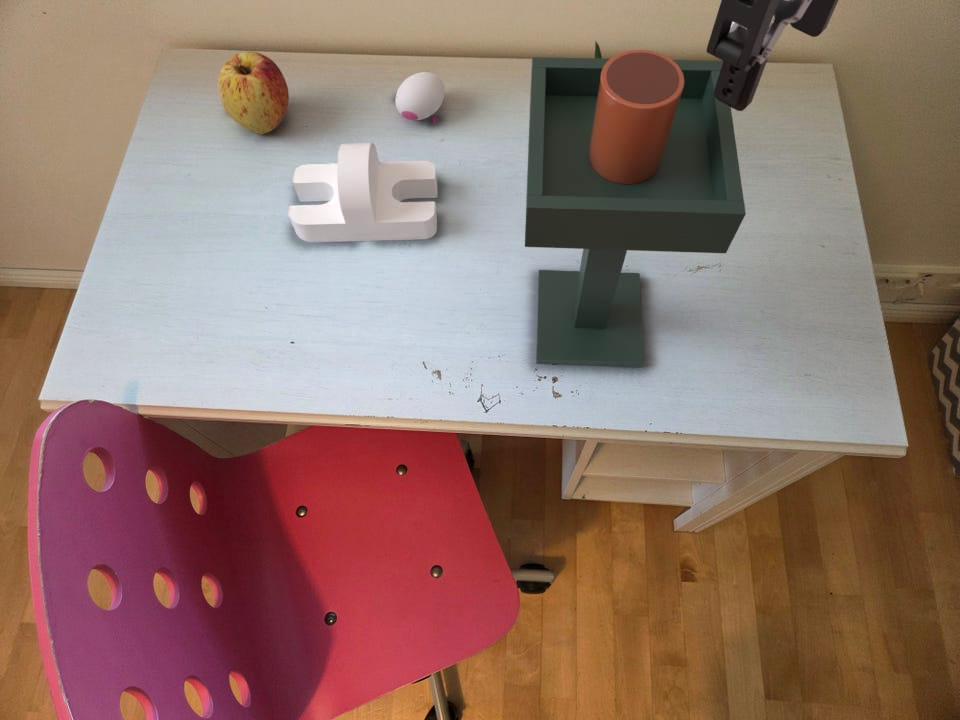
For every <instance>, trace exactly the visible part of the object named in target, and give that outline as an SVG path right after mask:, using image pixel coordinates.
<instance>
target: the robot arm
mask: <svg viewBox="0 0 960 720" xmlns="http://www.w3.org/2000/svg"><path fill="white" fill-rule="evenodd" d="M838 2H839V0H721V1H720V4H719V7H718V10H717V12H716V13H717V14H716V17H715V20H714V23H713V26H712V29H711V33H710V37H709V39H708V42H707V43H708V44H707V45H706V53H707V54H709V55H711V56H713V57H715V58H717V59H719V60H720V61H723V64H722V67H721V71H720V74H719V77H718V80H717V83H716V87H715V90H714V95H715V97H716V99H717V100H719V101H720V102H722V103H724V104H726V105H728V106H730V107H731V109H733V110H735V111H738V112H743V111H744V110H745V109H747V107H748V106H750V104H751V103H752V102H753V99H754V97H755V94H756V91H757V89H758V86H759V84H760V81H761V78H762V77H763V76H762V75H763V73H764V70H765V68H766V65H767V62H768V60H769V58H770V56H771V55H772V52H773V50H774V48H775V46H776V44H777V42H778V41H779V39H780V37H781V36H782V34H783V33H784V31H785V29H786V27H787V26H788V25H790V26H791V27H792V29H795V30H797V31H799V32H801V33H803V34H806V35H808V36H809V37H812V38H816V37H819V36H820V35H821V34H822V33H823V32H824V31H825V30H826V29H827V27H828V25H829V23H830V21H831V18H832V16H833V14H834V11H835V9H836V6H837V4H838Z"/></svg>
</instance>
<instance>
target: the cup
mask: <svg viewBox="0 0 960 720" xmlns="http://www.w3.org/2000/svg"><path fill="white" fill-rule="evenodd" d="M609 59H610V60H609V61H608V62H607V63H606V64H605V65H604V67H603V69H602V72H601V76H600V83H599V89H598V96H597V102H596V108H595V115H594V121H593V127H592V134H591V140H590V146H589V161H590V163H591V166H592V167H593V169H594V170H595V171H596V172H597V173H598V174H599V175H600V176H602V177H603V178H605V179H607V180H609V181H611V182H614V183H619V184H636V183H640V182H643V181H645V180H648V179H649V178H651V177H652V176H653V175H654V174H655V173H656V172H657V171H658V169H659V168H660V165H661V162H662V159H663V156H664V152H665V149H666V146H667V142H668V139H669V135H670V132H671V129H672V125H673V122H674V118H675V115H676V112H677V108H678V105H679V101H680V98H681V95H682V91H683V88H684V76H683V73H682V71H681V69H680V67H679V66H678V65H677V64H676V63H675V62H674V61H673V60H674V59H672V58H671V57H668V56H667V55H665V54H664V53H660V52H658V51H654V50H649V49H631V50H626V51H622V52H620V53H617V54H616V55H613V56H612V57H611V58H609Z"/></svg>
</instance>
